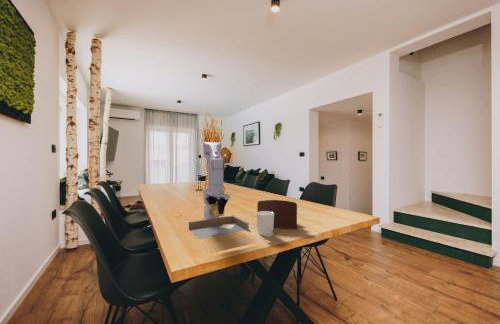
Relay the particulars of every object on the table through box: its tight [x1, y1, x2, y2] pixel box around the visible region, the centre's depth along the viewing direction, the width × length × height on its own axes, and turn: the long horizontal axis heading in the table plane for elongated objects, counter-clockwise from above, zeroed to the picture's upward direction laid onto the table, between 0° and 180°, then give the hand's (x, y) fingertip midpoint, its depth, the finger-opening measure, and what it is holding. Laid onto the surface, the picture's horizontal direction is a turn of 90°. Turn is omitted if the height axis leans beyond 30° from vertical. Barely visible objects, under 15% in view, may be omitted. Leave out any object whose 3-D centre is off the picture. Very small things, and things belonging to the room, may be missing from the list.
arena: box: [188, 215, 250, 239], centre depth 103 cm, size 16×24×4 cm, turn 121°
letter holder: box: [256, 199, 298, 230], centre depth 112 cm, size 10×20×14 cm, turn 80°
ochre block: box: [209, 203, 225, 217], centre depth 101 cm, size 5×5×5 cm
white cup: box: [256, 211, 274, 238], centre depth 97 cm, size 8×8×10 cm
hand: (216, 212), depth 101 cm, fingers closed on ochre block, 5 cm apart
